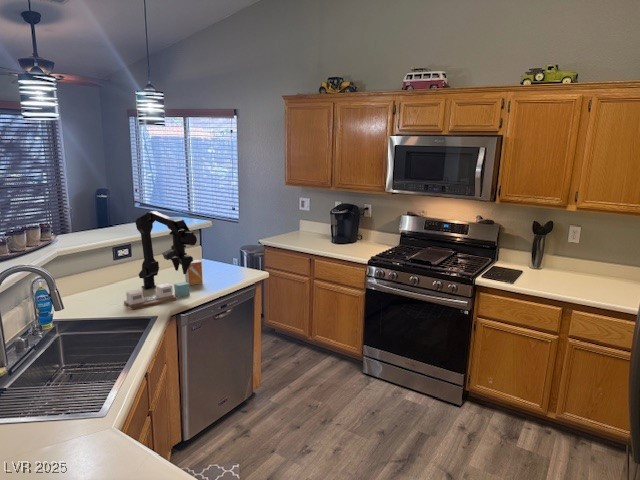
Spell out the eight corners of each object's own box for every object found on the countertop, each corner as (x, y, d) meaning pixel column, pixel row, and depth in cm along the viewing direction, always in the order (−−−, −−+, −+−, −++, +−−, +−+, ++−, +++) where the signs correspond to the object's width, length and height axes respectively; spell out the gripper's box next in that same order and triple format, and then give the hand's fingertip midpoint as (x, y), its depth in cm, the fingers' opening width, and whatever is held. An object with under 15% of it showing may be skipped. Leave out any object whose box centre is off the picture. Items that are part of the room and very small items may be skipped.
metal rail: (126, 302, 219) (125, 301, 219) (168, 292, 234) (168, 291, 234) (130, 305, 215) (130, 304, 215) (173, 295, 229) (173, 294, 229)
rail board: (124, 303, 222) (123, 301, 221) (166, 294, 236) (166, 291, 236) (133, 310, 213) (132, 307, 213) (176, 299, 228) (176, 297, 227)
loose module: (174, 294, 236) (174, 283, 234) (185, 292, 240) (184, 281, 238) (179, 297, 232) (178, 286, 231) (189, 294, 236) (189, 283, 235)
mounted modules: (126, 301, 219) (126, 291, 218) (167, 292, 233) (167, 283, 232) (131, 304, 215) (130, 294, 214) (173, 295, 229) (172, 285, 228)
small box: (189, 285, 250) (187, 263, 248) (185, 283, 256) (184, 261, 253) (203, 283, 255) (201, 261, 252) (199, 280, 260) (198, 259, 257)
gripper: (156, 242, 231) (158, 271, 235) (171, 248, 218) (173, 279, 221) (176, 239, 239) (178, 267, 242) (192, 245, 225) (194, 275, 229)
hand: (180, 272), depth 233 cm, fingers open, 9 cm apart
